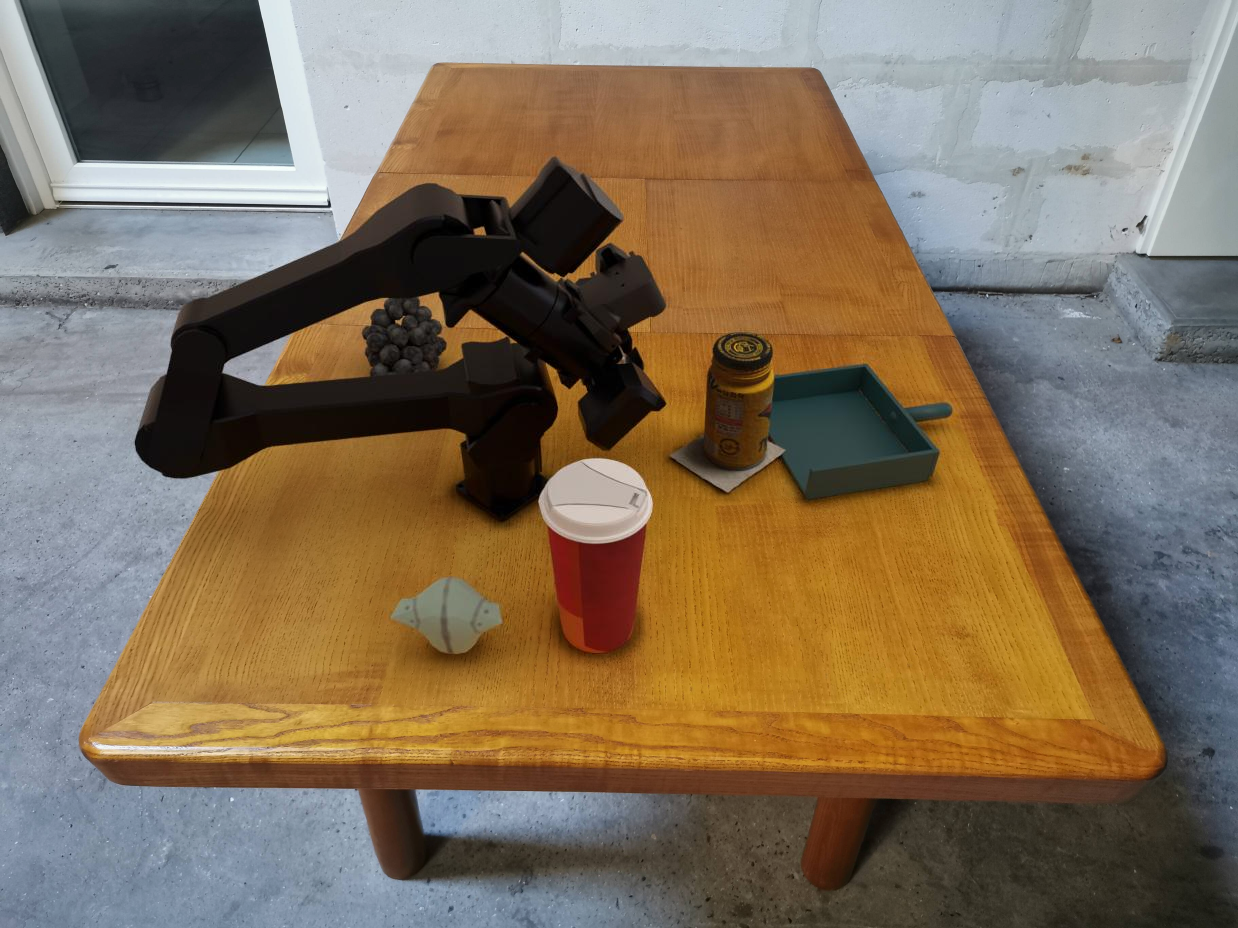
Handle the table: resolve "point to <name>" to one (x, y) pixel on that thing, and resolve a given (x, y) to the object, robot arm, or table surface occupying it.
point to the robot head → (449, 615)
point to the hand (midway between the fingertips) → (661, 405)
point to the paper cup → (596, 549)
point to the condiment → (735, 413)
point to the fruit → (403, 338)
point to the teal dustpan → (849, 432)
